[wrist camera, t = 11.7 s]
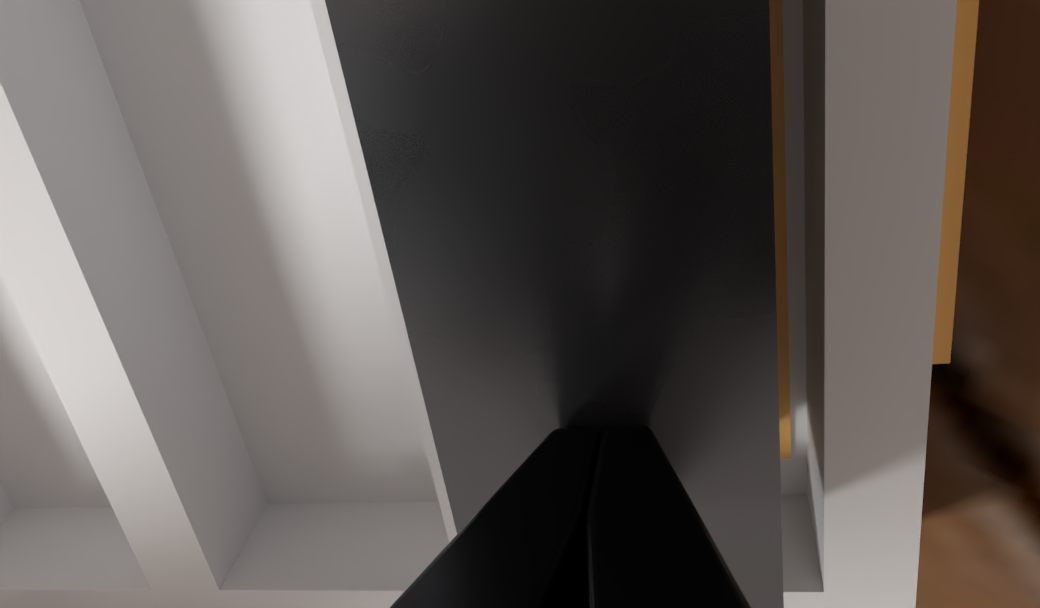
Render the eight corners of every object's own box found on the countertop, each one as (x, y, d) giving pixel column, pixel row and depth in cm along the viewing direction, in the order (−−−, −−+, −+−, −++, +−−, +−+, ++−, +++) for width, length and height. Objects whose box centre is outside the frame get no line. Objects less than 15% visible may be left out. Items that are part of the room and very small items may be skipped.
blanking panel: (747, 435, 17) (789, 864, 11) (589, 439, 18) (535, 847, 11) (714, -318, 12) (759, -433, 5) (485, -273, 12) (244, -321, 6)
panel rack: (896, 532, 19) (929, 653, 16) (-1, 541, 23) (-85, 637, 21) (960, -673, 10) (1051, -818, 8) (-478, -300, 15) (-723, -314, 12)
